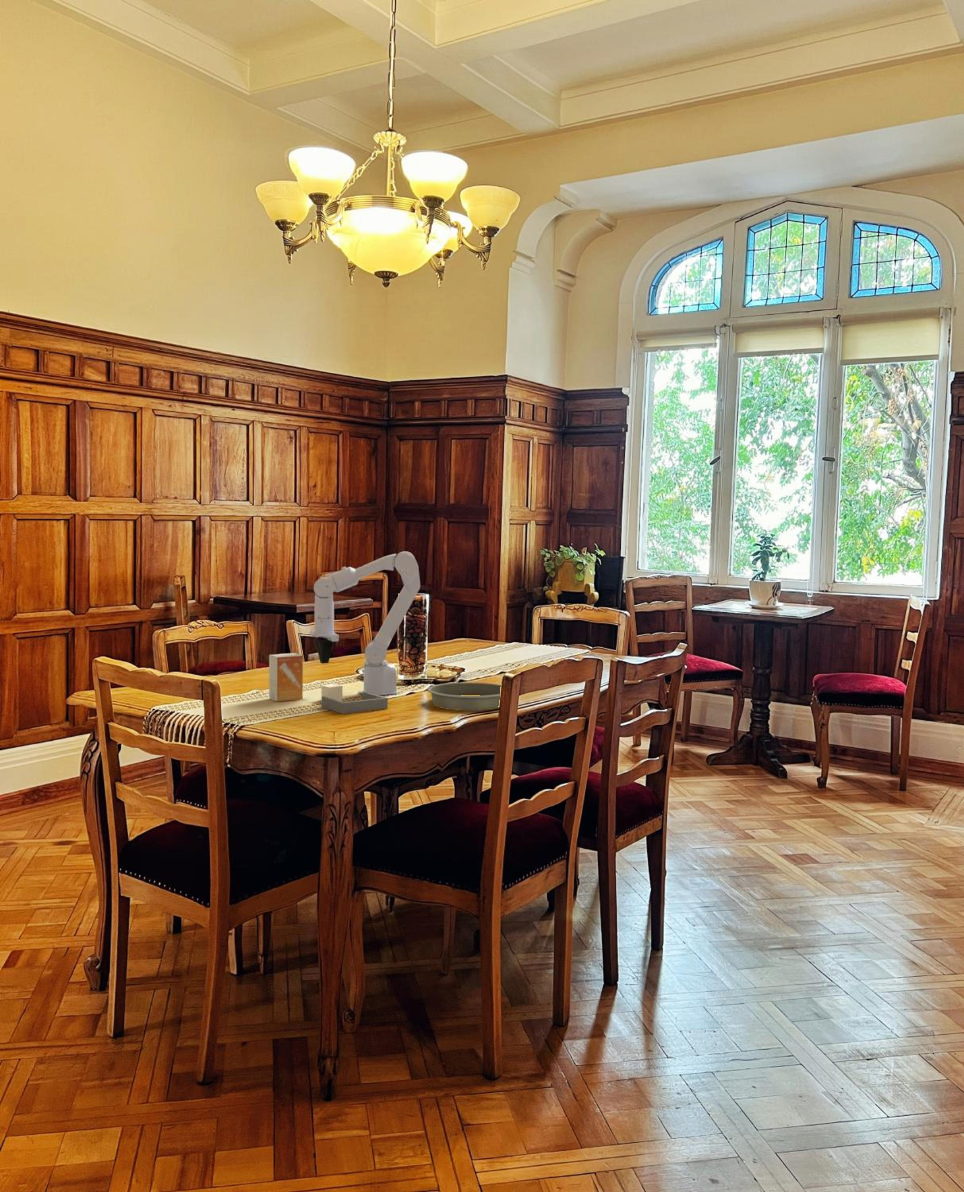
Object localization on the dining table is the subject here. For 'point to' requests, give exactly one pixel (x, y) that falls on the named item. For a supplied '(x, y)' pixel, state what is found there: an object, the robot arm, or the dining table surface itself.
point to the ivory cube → (332, 691)
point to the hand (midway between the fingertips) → (324, 663)
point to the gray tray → (356, 704)
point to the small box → (286, 677)
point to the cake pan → (452, 698)
